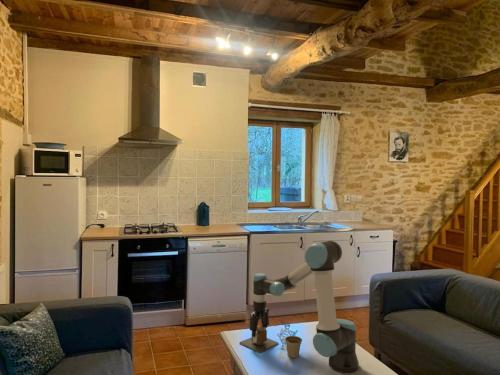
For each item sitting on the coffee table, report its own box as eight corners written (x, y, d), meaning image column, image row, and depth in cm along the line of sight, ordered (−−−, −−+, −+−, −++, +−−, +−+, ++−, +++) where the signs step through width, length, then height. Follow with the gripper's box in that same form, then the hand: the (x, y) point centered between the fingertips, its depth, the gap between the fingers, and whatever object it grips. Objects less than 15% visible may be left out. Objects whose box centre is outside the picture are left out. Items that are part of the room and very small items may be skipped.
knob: (266, 340, 213) (266, 326, 213) (259, 343, 209) (259, 329, 209) (259, 337, 217) (259, 323, 217) (251, 340, 213) (251, 326, 213)
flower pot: (301, 360, 195) (301, 344, 195) (283, 358, 197) (283, 342, 197) (302, 352, 204) (302, 336, 204) (285, 350, 206) (285, 335, 206)
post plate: (278, 344, 213) (278, 335, 213) (259, 353, 202) (259, 343, 202) (258, 335, 224) (258, 327, 224) (239, 343, 213) (239, 334, 213)
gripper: (266, 295, 222) (265, 333, 223) (243, 302, 209) (242, 343, 209) (275, 298, 217) (275, 337, 217) (252, 305, 203) (252, 347, 204)
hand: (259, 340), depth 213 cm, fingers closed on knob, 6 cm apart
